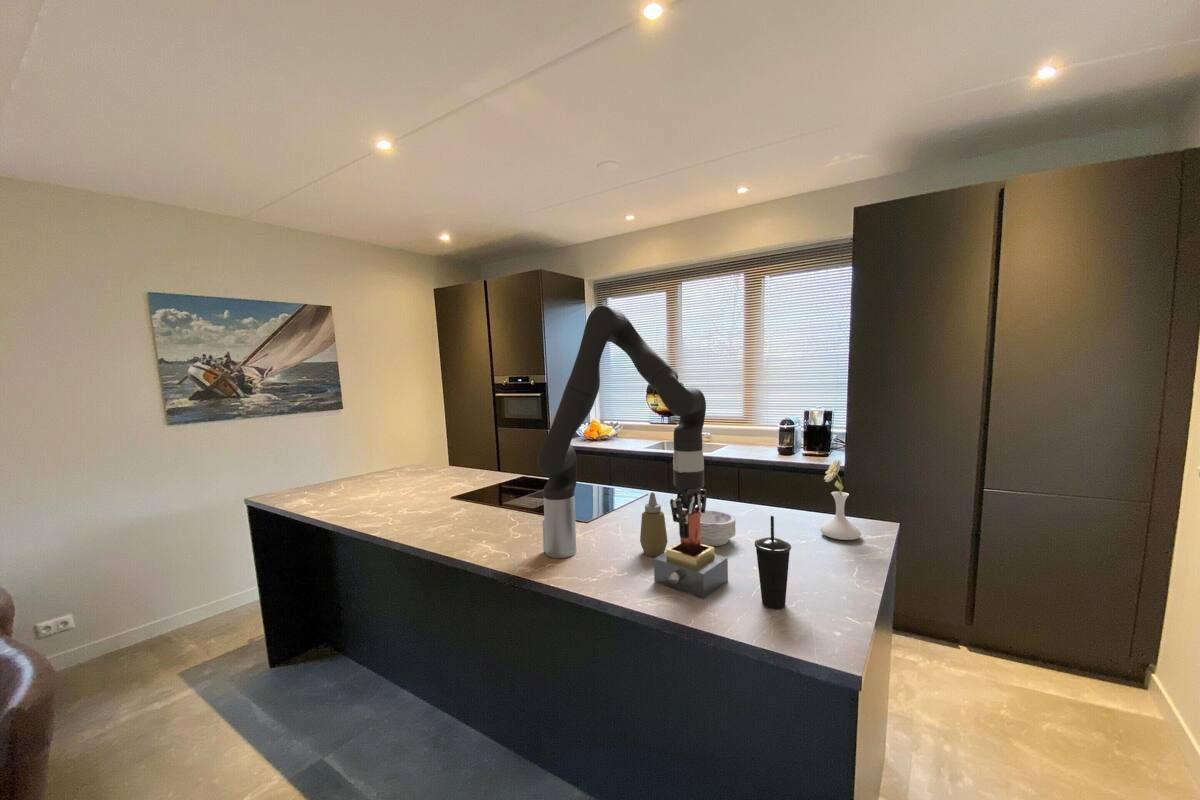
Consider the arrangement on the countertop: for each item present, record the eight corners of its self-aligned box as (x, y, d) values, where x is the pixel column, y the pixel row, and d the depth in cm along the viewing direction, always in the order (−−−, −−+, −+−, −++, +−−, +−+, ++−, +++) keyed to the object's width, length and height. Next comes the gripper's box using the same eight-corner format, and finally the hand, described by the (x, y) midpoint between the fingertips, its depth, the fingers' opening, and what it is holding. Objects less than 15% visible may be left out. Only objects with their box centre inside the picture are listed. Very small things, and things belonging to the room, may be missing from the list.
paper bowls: (741, 537, 141) (741, 512, 141) (727, 553, 128) (727, 527, 128) (695, 529, 149) (695, 506, 149) (678, 544, 137) (677, 519, 136)
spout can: (676, 552, 111) (675, 501, 111) (687, 546, 115) (686, 496, 114) (694, 557, 108) (693, 504, 107) (704, 550, 111) (703, 499, 111)
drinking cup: (749, 596, 103) (748, 512, 102) (781, 594, 104) (780, 510, 103) (764, 614, 95) (763, 522, 94) (798, 611, 96) (797, 520, 95)
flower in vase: (823, 528, 147) (822, 453, 146) (863, 534, 140) (862, 456, 139) (815, 540, 136) (815, 460, 135) (858, 548, 130) (858, 463, 128)
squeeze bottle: (667, 559, 126) (665, 496, 125) (638, 557, 127) (637, 496, 127) (668, 548, 134) (667, 489, 133) (641, 547, 135) (640, 489, 134)
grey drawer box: (649, 584, 111) (648, 551, 110) (680, 566, 121) (679, 535, 120) (699, 602, 101) (698, 566, 101) (727, 581, 111) (727, 547, 111)
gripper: (690, 461, 118) (692, 524, 119) (659, 470, 108) (661, 539, 108) (716, 464, 113) (717, 530, 114) (686, 474, 103) (687, 546, 103)
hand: (690, 534), depth 111 cm, fingers closed on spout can, 5 cm apart
